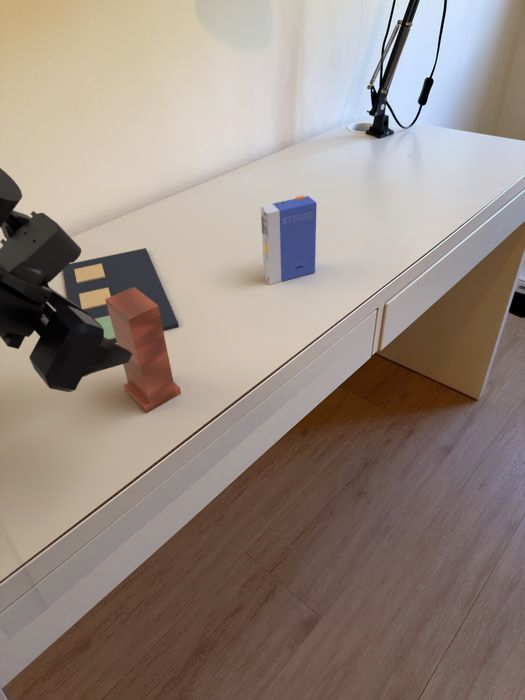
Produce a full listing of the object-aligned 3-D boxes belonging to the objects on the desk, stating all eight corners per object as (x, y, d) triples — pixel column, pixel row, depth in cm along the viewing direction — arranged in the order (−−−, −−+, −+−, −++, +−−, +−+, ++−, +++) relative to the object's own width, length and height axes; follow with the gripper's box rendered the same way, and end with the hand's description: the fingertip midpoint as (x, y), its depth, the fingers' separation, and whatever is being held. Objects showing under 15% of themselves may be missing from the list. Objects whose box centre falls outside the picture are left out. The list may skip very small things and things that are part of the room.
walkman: (307, 265, 85) (308, 193, 77) (315, 273, 83) (316, 200, 75) (262, 276, 83) (258, 203, 75) (269, 284, 81) (266, 211, 73)
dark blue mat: (179, 326, 73) (178, 321, 73) (76, 352, 70) (74, 347, 69) (146, 250, 91) (145, 246, 90) (63, 268, 87) (61, 263, 87)
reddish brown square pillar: (146, 413, 60) (122, 321, 52) (124, 391, 63) (99, 301, 55) (181, 393, 63) (163, 302, 54) (158, 373, 66) (139, 284, 57)
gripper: (44, 237, 36) (197, 306, 48) (-38, 169, 47) (102, 239, 60) (-28, 375, 37) (138, 409, 49) (-91, 277, 49) (57, 324, 61)
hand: (107, 337), depth 55 cm, fingers open, 9 cm apart
